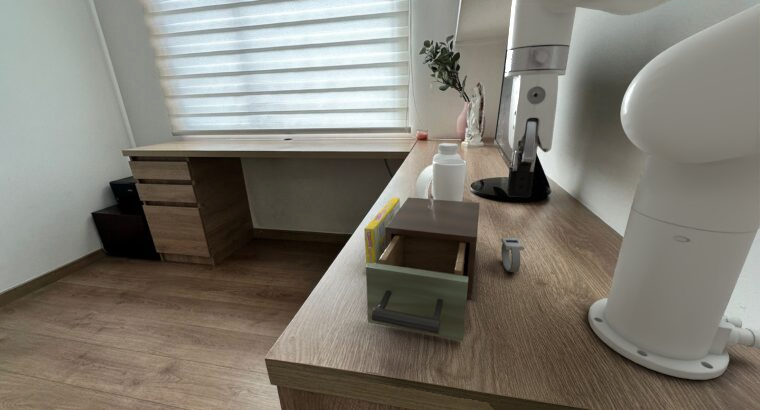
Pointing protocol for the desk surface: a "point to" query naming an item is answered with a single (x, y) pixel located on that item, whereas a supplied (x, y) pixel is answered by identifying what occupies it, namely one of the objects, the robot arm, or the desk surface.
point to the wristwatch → (515, 249)
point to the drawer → (419, 286)
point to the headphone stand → (424, 182)
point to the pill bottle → (446, 153)
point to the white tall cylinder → (449, 179)
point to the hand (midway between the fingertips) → (518, 194)
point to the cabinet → (439, 225)
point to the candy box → (379, 231)
